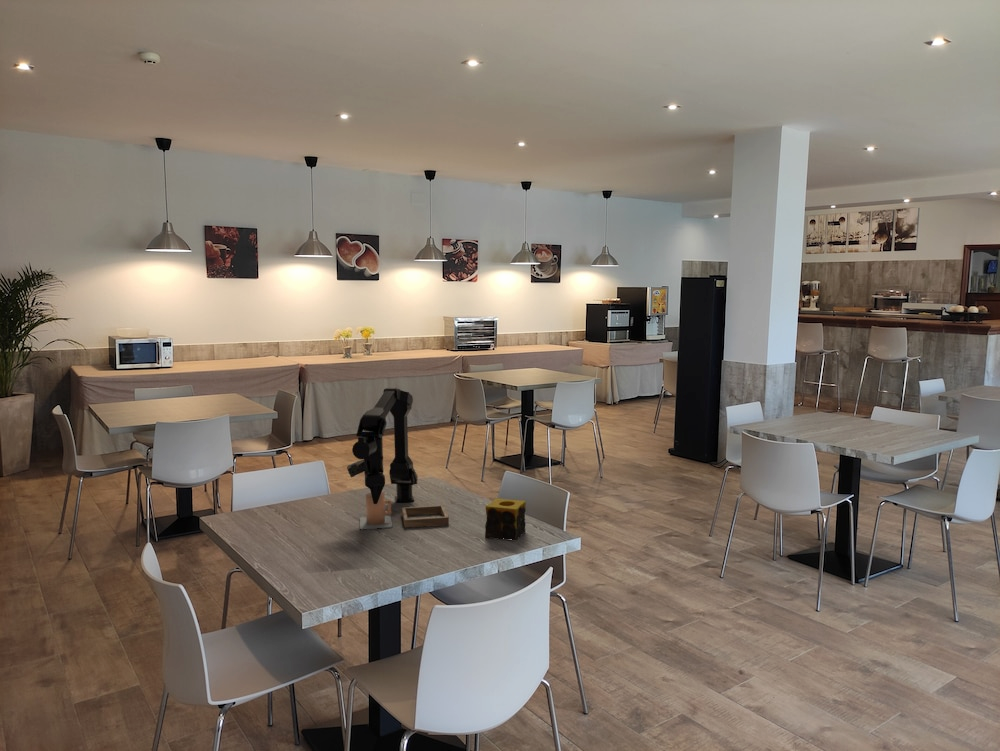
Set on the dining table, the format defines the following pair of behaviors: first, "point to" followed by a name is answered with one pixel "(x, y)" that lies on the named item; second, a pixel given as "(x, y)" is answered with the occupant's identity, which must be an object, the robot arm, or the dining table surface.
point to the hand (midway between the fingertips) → (374, 499)
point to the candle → (505, 519)
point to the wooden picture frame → (425, 521)
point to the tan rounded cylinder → (376, 509)
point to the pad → (368, 526)
